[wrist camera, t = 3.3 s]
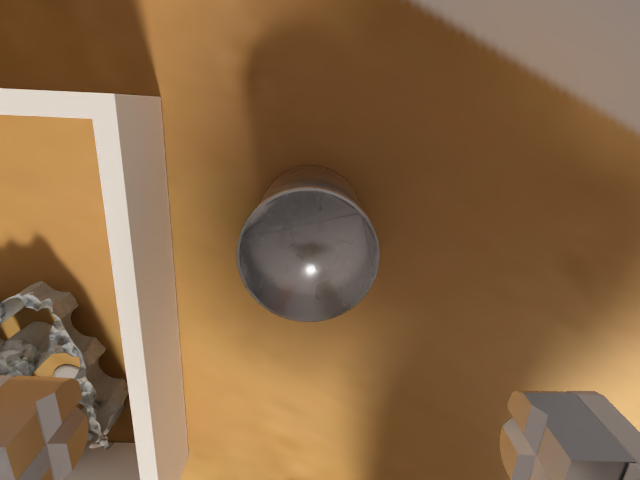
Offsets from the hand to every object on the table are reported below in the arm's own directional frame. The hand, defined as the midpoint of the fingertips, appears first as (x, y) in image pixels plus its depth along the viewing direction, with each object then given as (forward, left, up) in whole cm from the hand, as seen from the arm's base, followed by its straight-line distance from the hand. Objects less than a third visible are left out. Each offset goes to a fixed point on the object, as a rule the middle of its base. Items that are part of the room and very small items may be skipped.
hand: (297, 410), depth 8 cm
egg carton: (-11, +16, -16) cm, 25 cm away
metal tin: (0, 0, -16) cm, 16 cm away
